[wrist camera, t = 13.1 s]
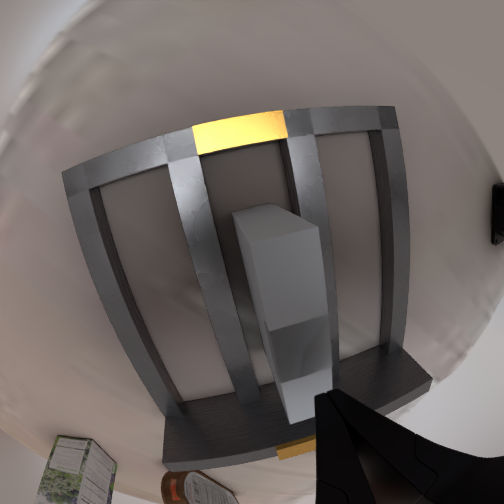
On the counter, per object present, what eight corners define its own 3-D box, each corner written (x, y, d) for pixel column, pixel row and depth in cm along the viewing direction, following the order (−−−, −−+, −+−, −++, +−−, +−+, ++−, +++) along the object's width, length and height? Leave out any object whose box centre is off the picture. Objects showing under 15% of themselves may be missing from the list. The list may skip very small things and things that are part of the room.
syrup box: (82, 460, 20) (66, 547, 7) (55, 433, 19) (27, 529, 5) (118, 463, 21) (108, 561, 7) (92, 437, 19) (70, 548, 5)
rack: (381, 109, 15) (449, 94, 9) (391, 351, 21) (431, 394, 15) (73, 171, 13) (8, 176, 7) (173, 415, 19) (171, 476, 13)
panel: (272, 202, 16) (319, 226, 9) (297, 340, 19) (333, 409, 12) (230, 212, 15) (248, 243, 9) (263, 350, 19) (288, 424, 12)
